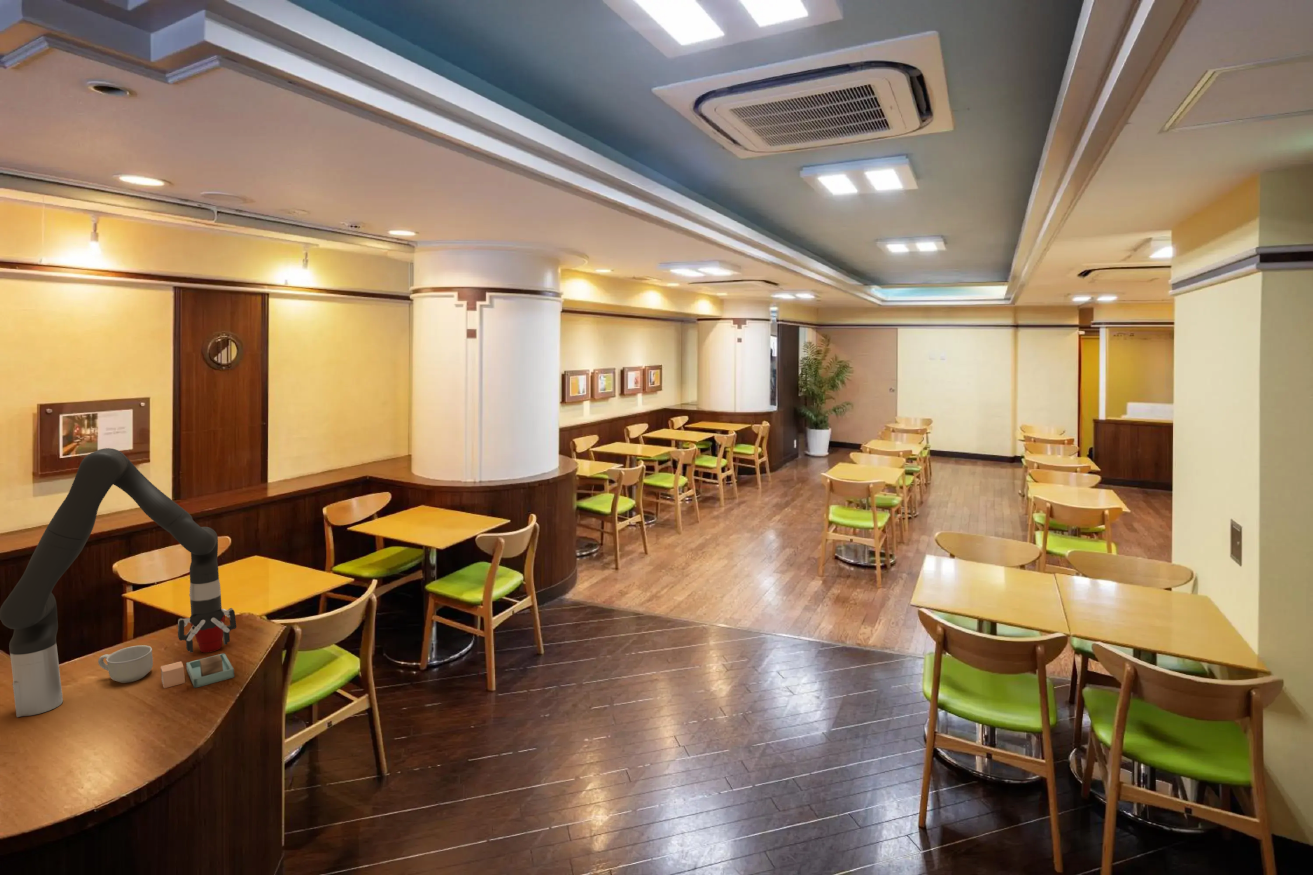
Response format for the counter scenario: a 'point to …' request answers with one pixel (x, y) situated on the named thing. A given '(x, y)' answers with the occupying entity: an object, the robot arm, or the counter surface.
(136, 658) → the teacup
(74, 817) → the counter surface
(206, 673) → the walnut cube
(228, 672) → the tray
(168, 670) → the terracotta cube
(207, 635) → the plastic cup
